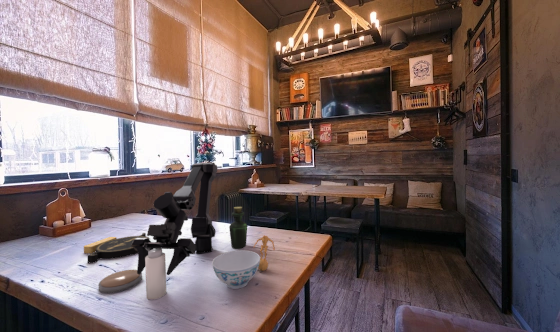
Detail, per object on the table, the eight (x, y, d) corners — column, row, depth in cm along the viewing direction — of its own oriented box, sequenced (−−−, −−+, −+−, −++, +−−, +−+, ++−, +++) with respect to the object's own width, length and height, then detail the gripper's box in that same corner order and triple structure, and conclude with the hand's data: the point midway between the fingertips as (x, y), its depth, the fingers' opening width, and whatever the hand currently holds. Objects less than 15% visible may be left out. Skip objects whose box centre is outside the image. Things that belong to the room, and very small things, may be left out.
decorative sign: (123, 231, 122) (165, 233, 117) (124, 237, 122) (165, 240, 117) (61, 253, 93) (113, 257, 88) (62, 261, 94) (113, 266, 89)
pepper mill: (168, 288, 71) (166, 246, 71) (164, 297, 66) (162, 253, 66) (149, 291, 70) (148, 248, 70) (143, 301, 65) (142, 255, 65)
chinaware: (220, 272, 81) (220, 250, 81) (263, 271, 81) (262, 250, 80) (205, 297, 66) (204, 270, 66) (257, 297, 66) (256, 270, 65)
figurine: (249, 271, 81) (248, 237, 81) (257, 263, 87) (256, 232, 87) (271, 274, 78) (270, 239, 78) (277, 266, 84) (277, 234, 84)
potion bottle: (250, 247, 104) (250, 207, 104) (234, 251, 99) (233, 210, 99) (243, 242, 111) (242, 205, 110) (227, 246, 106) (226, 207, 106)
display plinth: (146, 272, 82) (146, 267, 82) (134, 289, 71) (134, 283, 71) (109, 277, 79) (108, 271, 79) (90, 296, 68) (90, 289, 68)
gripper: (134, 212, 72) (105, 262, 62) (191, 212, 71) (171, 264, 60) (151, 230, 80) (128, 277, 70) (202, 230, 79) (187, 278, 68)
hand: (152, 274), depth 66 cm, fingers open, 9 cm apart
